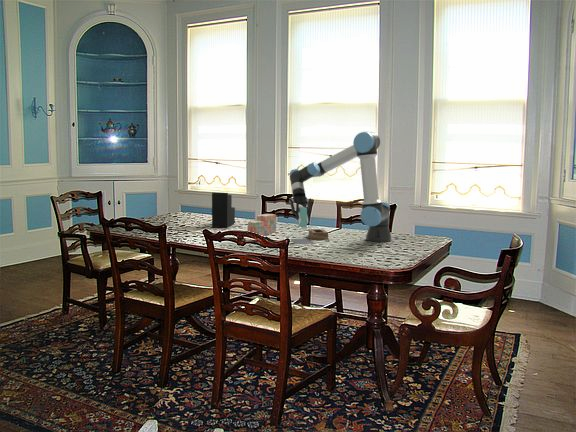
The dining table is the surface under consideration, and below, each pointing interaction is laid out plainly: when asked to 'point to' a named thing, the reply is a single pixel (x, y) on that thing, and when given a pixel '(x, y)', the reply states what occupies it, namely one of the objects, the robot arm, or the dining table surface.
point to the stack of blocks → (263, 224)
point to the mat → (302, 241)
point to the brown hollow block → (318, 234)
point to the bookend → (222, 210)
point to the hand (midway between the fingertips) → (303, 222)
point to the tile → (303, 217)
